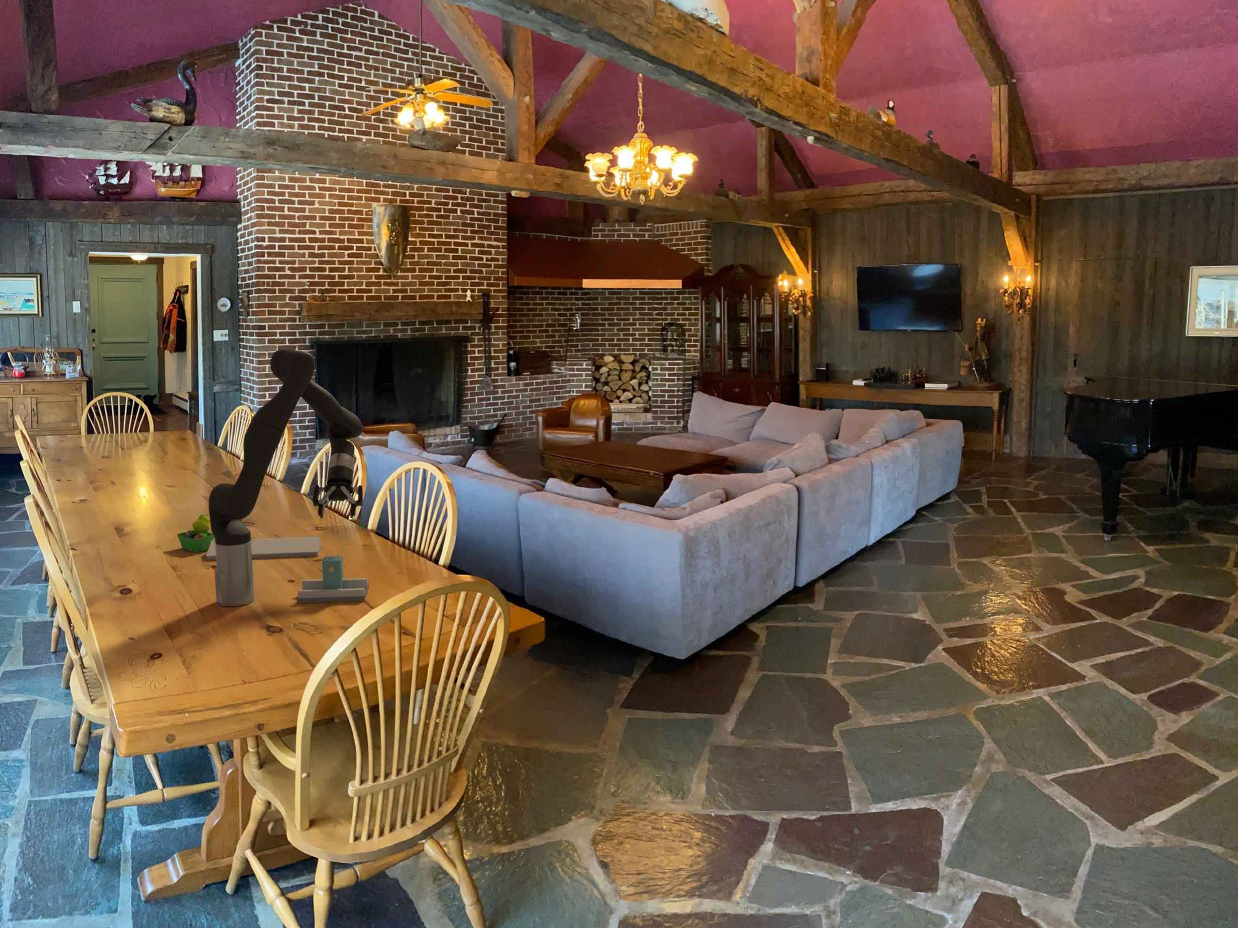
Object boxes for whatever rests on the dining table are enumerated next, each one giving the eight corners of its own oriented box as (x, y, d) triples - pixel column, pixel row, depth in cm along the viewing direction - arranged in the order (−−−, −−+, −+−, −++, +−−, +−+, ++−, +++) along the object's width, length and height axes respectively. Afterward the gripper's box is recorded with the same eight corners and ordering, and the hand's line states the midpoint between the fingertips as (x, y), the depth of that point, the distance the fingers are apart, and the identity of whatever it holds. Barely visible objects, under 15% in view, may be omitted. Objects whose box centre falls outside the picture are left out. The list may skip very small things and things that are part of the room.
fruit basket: (176, 548, 315) (174, 515, 313) (200, 543, 322) (198, 511, 320) (195, 554, 308) (193, 520, 306) (220, 548, 315) (218, 516, 313)
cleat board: (297, 603, 262) (297, 589, 261) (305, 589, 275) (304, 575, 274) (364, 601, 265) (363, 587, 264) (368, 587, 278) (368, 574, 277)
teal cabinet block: (322, 595, 265) (321, 561, 263) (325, 589, 270) (324, 556, 269) (341, 595, 266) (340, 561, 264) (343, 589, 271) (342, 555, 269)
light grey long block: (318, 564, 310) (320, 548, 319) (317, 551, 308) (319, 536, 317) (207, 568, 303) (213, 552, 312) (206, 555, 301) (211, 539, 310)
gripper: (314, 464, 281) (309, 509, 272) (363, 464, 284) (360, 509, 274) (317, 478, 287) (312, 523, 278) (365, 478, 290) (362, 523, 280)
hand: (336, 516), depth 276 cm, fingers open, 8 cm apart
